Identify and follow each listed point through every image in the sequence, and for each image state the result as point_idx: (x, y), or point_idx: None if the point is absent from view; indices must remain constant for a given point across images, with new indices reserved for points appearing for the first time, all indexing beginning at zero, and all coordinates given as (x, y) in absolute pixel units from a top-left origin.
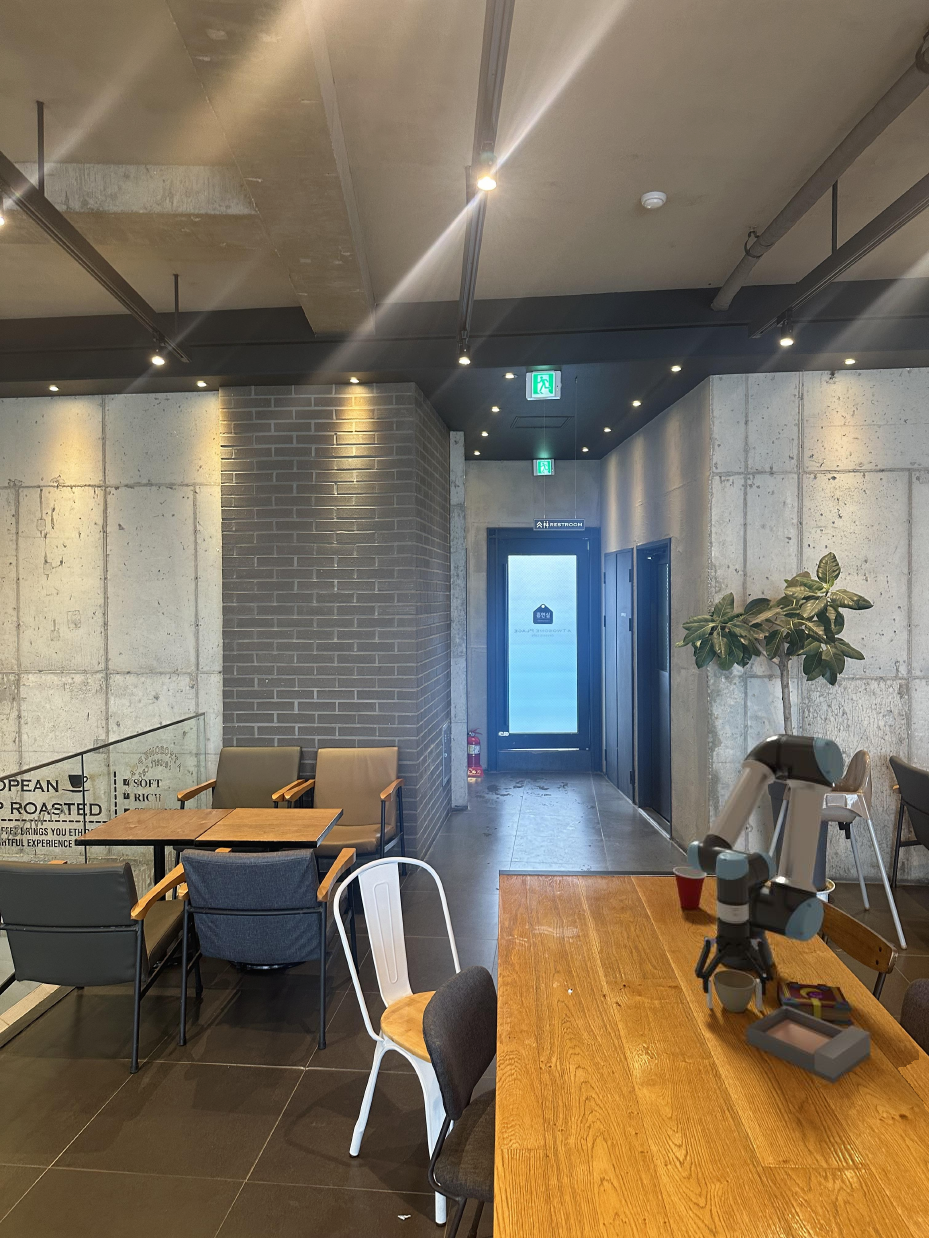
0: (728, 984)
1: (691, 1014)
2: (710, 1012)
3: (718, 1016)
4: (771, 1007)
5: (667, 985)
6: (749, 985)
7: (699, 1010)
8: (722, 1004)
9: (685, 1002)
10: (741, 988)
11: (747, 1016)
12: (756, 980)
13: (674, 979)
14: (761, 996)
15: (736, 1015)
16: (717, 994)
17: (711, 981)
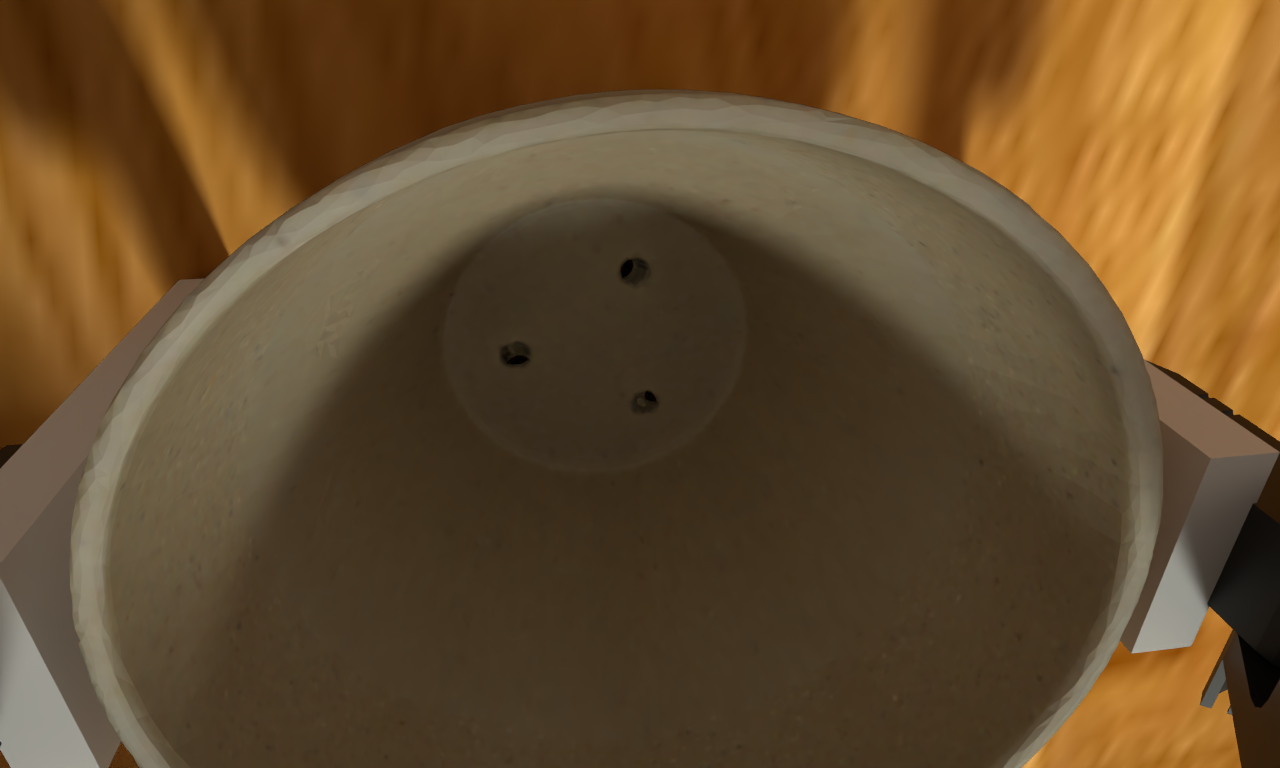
0: (658, 667)
1: (1272, 33)
2: (975, 134)
3: (900, 14)
4: (43, 411)
5: (1188, 660)
6: (305, 641)
7: (1104, 174)
8: (786, 294)
9: (1183, 360)
10: (459, 622)
11: (430, 73)
12: (82, 718)
13: (1069, 763)
14: (81, 393)
15: (607, 86)
16: (916, 367)
17: (1203, 479)
